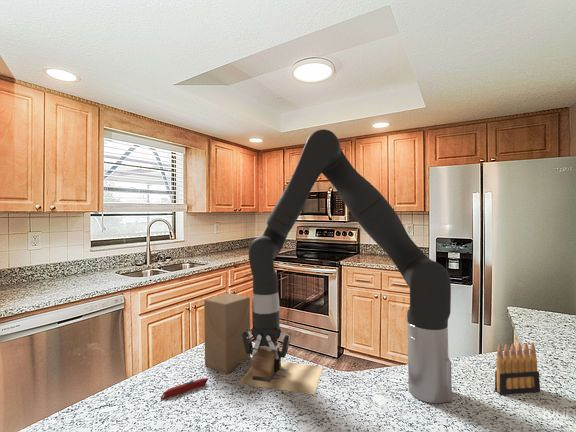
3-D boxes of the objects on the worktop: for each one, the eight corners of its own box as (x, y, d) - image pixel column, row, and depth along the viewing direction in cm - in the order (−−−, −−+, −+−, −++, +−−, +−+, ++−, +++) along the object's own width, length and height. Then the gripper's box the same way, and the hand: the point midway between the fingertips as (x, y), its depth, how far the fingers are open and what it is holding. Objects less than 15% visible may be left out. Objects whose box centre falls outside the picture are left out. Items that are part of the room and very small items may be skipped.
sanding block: (280, 365, 86) (280, 344, 86) (270, 382, 77) (270, 358, 77) (263, 363, 87) (263, 343, 87) (252, 379, 78) (252, 356, 79)
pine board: (323, 371, 85) (323, 366, 85) (314, 400, 72) (314, 394, 72) (257, 363, 90) (257, 358, 90) (238, 389, 77) (238, 383, 77)
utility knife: (207, 383, 80) (207, 375, 80) (208, 385, 79) (208, 377, 79) (160, 398, 74) (160, 390, 74) (161, 400, 73) (161, 392, 73)
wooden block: (226, 375, 84) (225, 304, 84) (204, 365, 90) (203, 299, 90) (251, 361, 92) (250, 296, 92) (229, 353, 98) (228, 292, 98)
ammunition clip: (500, 394, 73) (499, 345, 73) (494, 390, 75) (493, 342, 75) (540, 392, 74) (539, 343, 74) (533, 388, 76) (532, 340, 76)
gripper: (294, 306, 84) (295, 366, 84) (247, 303, 88) (248, 361, 88) (287, 314, 77) (288, 380, 77) (236, 310, 81) (237, 373, 80)
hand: (266, 369), depth 82 cm, fingers closed on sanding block, 5 cm apart
